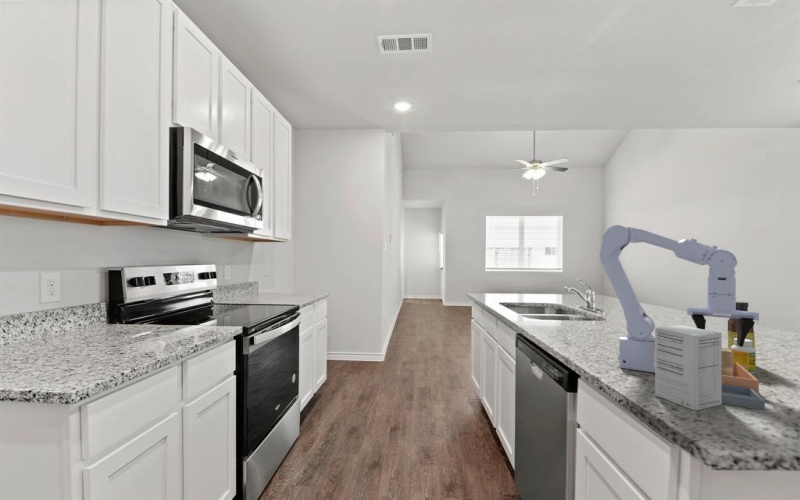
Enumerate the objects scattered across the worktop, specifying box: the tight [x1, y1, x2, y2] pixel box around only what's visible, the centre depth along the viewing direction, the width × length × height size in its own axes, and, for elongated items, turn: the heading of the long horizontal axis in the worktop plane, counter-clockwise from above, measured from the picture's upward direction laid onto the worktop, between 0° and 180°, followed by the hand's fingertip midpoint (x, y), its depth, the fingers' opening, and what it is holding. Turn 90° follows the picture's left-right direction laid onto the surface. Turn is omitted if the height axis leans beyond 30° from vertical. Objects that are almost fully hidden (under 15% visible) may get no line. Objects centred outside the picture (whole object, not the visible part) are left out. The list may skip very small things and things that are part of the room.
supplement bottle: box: [731, 338, 757, 375], centre depth 106 cm, size 5×5×10 cm
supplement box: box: [654, 324, 723, 412], centre depth 85 cm, size 10×9×17 cm
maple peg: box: [721, 347, 733, 376], centre depth 97 cm, size 4×4×9 cm
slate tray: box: [722, 384, 766, 411], centre depth 85 cm, size 9×9×2 cm
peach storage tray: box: [722, 362, 760, 396], centre depth 97 cm, size 11×17×4 cm, turn 150°
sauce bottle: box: [727, 300, 756, 350], centre depth 113 cm, size 6×6×20 cm
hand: (721, 343), depth 97 cm, fingers open, 7 cm apart
